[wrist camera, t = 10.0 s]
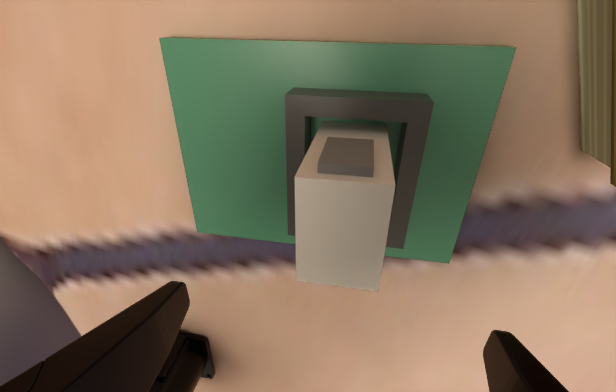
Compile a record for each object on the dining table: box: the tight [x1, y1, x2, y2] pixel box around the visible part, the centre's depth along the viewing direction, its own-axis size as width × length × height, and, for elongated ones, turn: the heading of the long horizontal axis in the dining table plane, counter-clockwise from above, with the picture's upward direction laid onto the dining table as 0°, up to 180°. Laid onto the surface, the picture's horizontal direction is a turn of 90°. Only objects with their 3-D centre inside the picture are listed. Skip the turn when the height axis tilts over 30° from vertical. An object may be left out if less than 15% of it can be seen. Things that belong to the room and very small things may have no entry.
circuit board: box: [159, 37, 516, 263], centre depth 18 cm, size 13×18×3 cm
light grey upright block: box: [294, 121, 395, 292], centre depth 15 cm, size 5×4×8 cm, turn 179°
